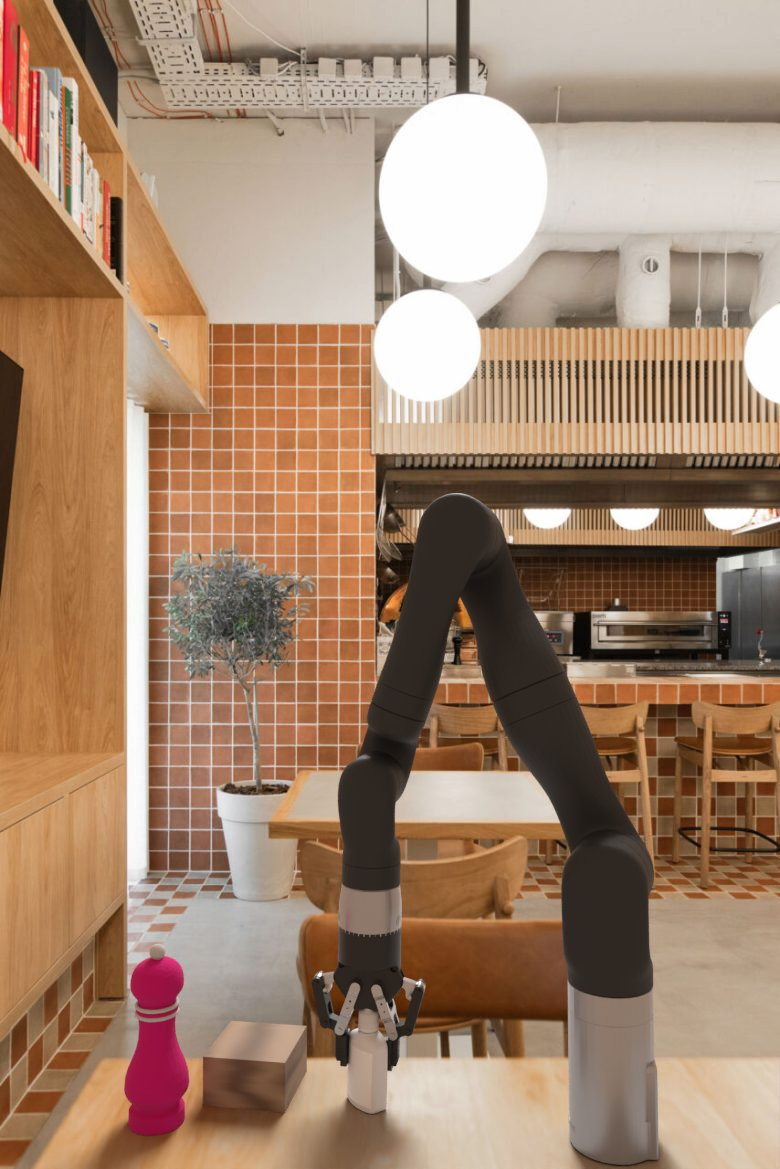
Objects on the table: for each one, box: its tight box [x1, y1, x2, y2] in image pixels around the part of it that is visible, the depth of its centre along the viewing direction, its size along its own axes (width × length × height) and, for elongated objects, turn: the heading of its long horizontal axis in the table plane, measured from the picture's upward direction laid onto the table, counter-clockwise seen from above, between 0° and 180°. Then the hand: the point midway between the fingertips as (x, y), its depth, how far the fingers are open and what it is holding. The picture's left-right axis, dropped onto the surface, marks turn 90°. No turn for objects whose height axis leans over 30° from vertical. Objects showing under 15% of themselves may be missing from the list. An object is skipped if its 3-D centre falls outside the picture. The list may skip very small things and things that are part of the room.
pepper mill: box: [123, 943, 190, 1137], centre depth 107 cm, size 7×7×20 cm
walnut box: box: [202, 1020, 308, 1114], centre depth 114 cm, size 10×10×6 cm
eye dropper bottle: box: [346, 1009, 388, 1115], centre depth 110 cm, size 4×6×12 cm
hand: (366, 1065), depth 111 cm, fingers closed on eye dropper bottle, 4 cm apart
